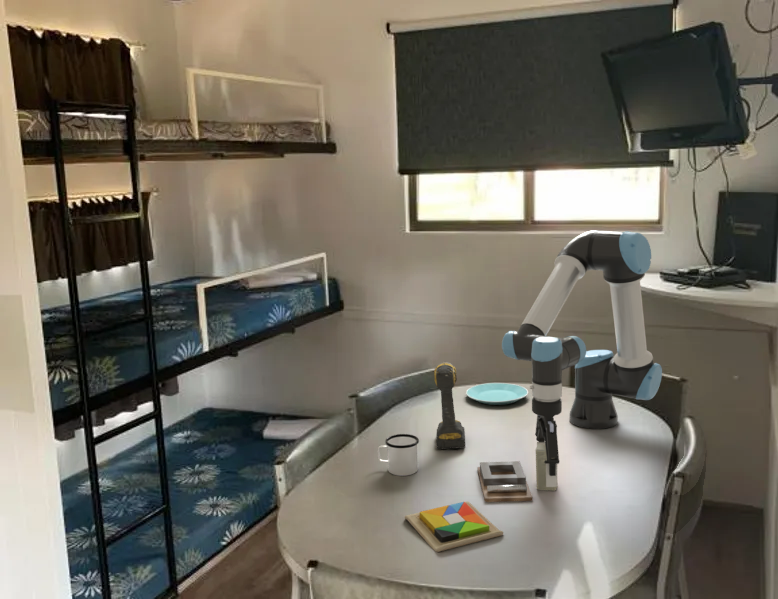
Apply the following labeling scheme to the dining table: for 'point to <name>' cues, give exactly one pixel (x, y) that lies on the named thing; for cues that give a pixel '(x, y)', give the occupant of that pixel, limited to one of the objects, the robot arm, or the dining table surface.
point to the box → (542, 468)
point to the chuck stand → (503, 480)
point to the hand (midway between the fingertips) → (546, 475)
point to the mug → (401, 454)
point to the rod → (506, 488)
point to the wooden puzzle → (452, 526)
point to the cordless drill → (448, 409)
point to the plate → (497, 393)
